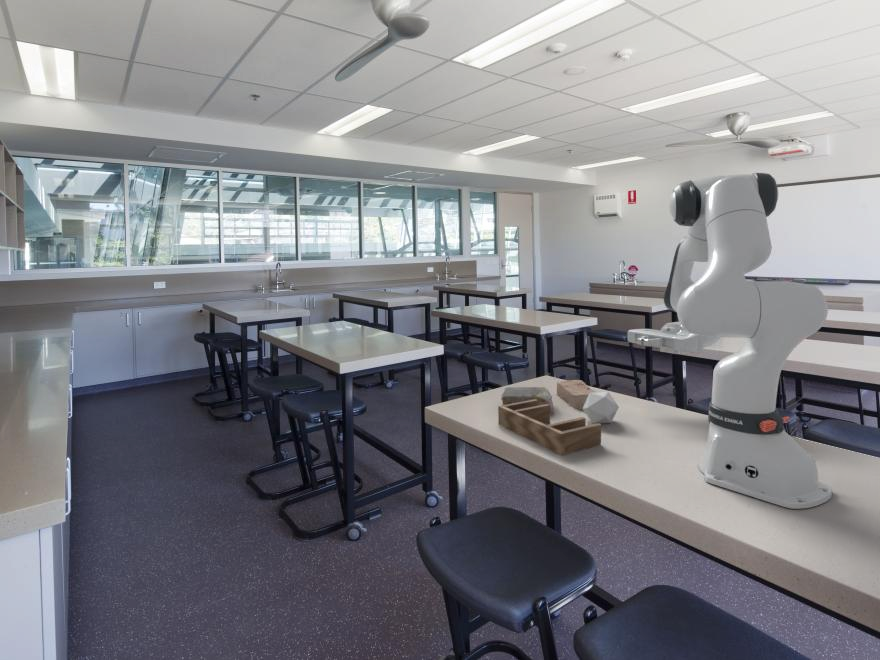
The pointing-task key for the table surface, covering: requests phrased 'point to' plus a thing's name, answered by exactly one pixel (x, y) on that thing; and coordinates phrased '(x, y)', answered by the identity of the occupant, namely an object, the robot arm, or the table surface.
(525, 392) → the geological specimen
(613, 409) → the die
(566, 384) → the brick
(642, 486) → the table surface
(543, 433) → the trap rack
